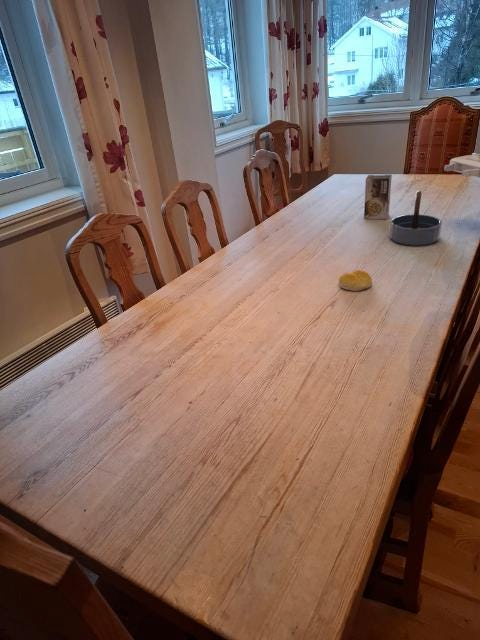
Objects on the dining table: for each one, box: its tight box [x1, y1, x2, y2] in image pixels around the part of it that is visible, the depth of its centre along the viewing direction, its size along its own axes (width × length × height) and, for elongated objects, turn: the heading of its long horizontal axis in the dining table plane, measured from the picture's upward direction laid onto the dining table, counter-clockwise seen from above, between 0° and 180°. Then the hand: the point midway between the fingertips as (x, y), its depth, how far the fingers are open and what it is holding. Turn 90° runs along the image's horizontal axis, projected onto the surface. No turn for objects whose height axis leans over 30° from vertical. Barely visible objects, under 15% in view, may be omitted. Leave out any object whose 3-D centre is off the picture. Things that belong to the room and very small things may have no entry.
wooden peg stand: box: [408, 190, 423, 229], centre depth 147 cm, size 6×6×15 cm
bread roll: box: [338, 269, 373, 292], centre depth 121 cm, size 8×9×4 cm
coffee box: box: [363, 173, 393, 220], centre depth 170 cm, size 9×6×16 cm
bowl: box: [389, 213, 443, 247], centre depth 148 cm, size 16×16×6 cm
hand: (454, 170), depth 142 cm, fingers open, 8 cm apart
